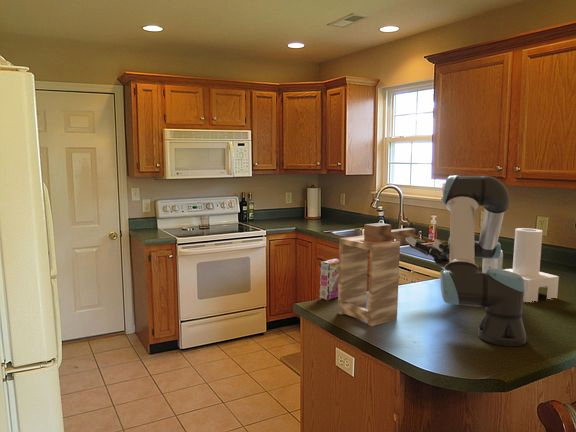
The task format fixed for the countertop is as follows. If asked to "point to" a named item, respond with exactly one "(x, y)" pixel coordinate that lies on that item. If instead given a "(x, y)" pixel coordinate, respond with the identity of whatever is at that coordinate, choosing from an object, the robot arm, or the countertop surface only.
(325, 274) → the candy bar box
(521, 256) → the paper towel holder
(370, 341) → the countertop surface
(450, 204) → the robot arm
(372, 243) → the mat
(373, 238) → the mallet
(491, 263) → the supplement tub
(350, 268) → the wooden open frame
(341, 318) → the countertop surface
